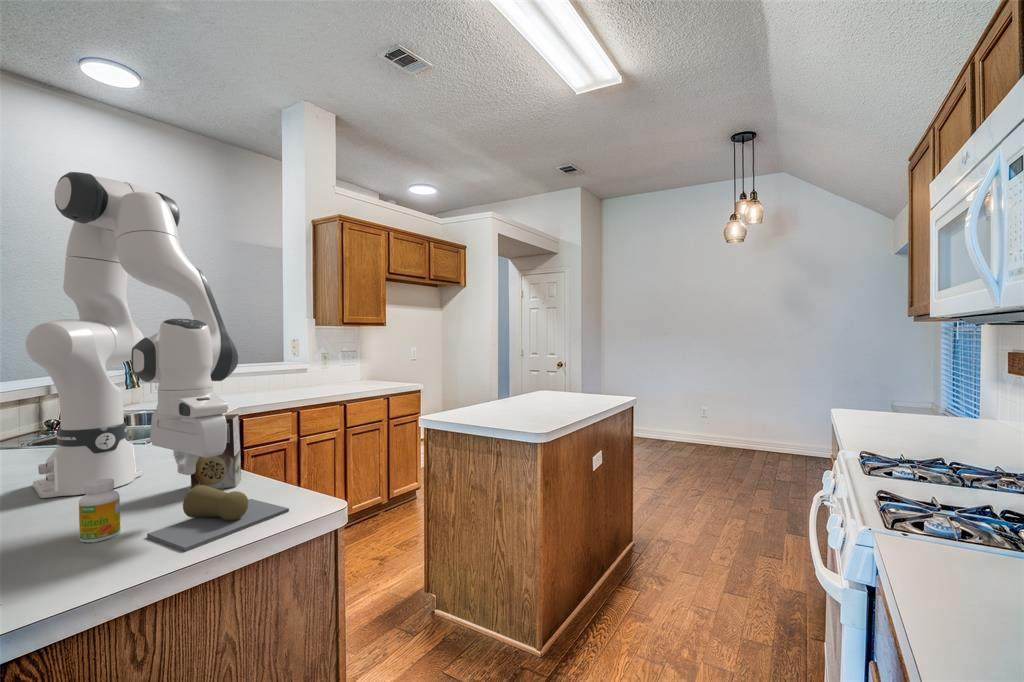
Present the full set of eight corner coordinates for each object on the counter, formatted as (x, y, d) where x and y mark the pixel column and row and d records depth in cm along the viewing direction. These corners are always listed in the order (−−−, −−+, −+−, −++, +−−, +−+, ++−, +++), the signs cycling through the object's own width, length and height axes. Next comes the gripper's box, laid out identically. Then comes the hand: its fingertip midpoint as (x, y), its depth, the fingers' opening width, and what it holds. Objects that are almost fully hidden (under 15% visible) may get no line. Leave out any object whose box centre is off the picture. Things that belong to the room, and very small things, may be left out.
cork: (186, 524, 89) (228, 530, 85) (179, 494, 88) (222, 499, 84) (215, 507, 94) (256, 513, 90) (209, 479, 93) (251, 484, 90)
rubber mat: (147, 537, 82) (147, 533, 82) (251, 501, 99) (251, 498, 99) (185, 551, 76) (185, 547, 76) (289, 511, 93) (288, 508, 93)
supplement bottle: (74, 546, 79) (73, 488, 79) (85, 534, 84) (84, 480, 83) (115, 539, 81) (114, 483, 81) (124, 528, 86) (122, 475, 86)
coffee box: (242, 479, 114) (240, 413, 114) (235, 487, 108) (234, 417, 108) (198, 483, 111) (197, 415, 111) (189, 492, 105) (187, 420, 105)
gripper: (140, 400, 93) (140, 469, 93) (198, 409, 83) (198, 486, 84) (175, 396, 99) (175, 462, 99) (233, 404, 89) (233, 477, 89)
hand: (186, 473), depth 91 cm, fingers closed
